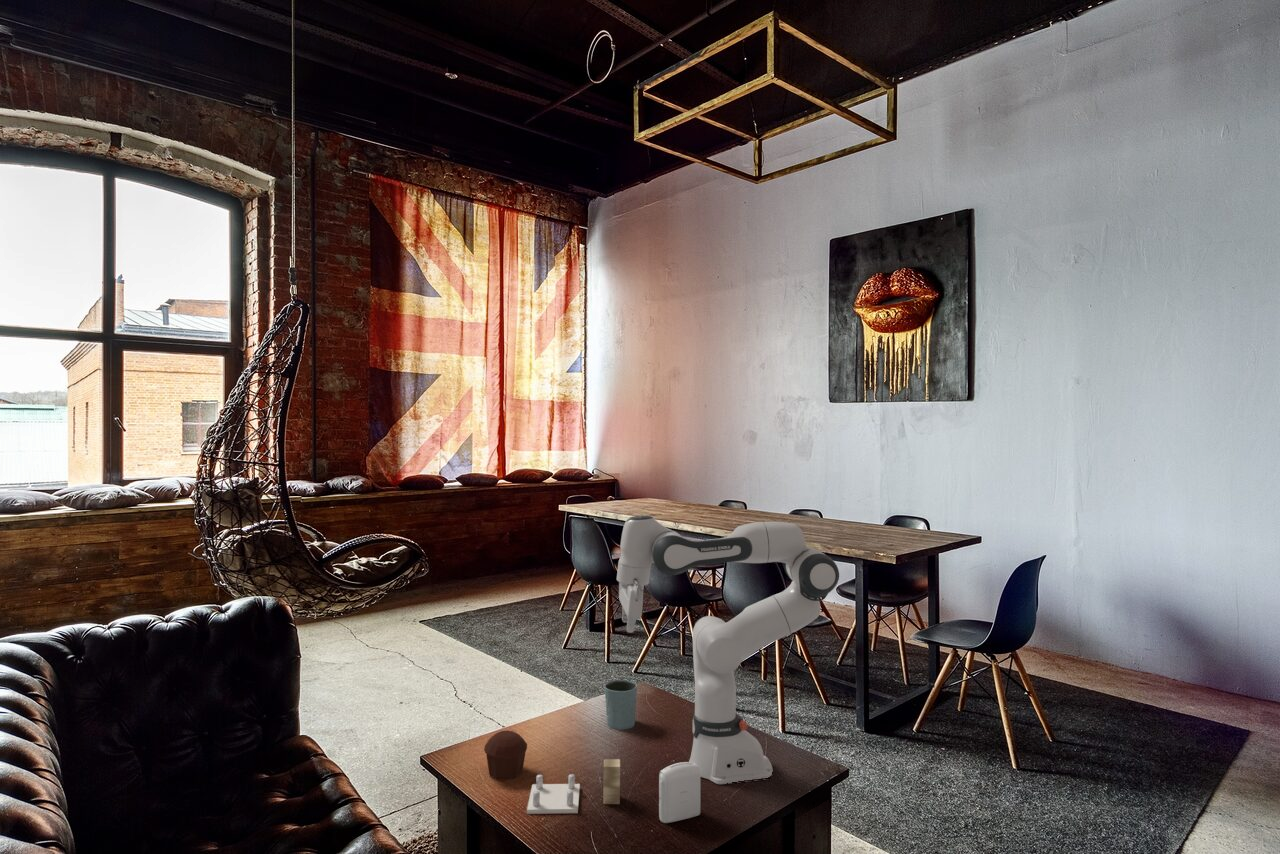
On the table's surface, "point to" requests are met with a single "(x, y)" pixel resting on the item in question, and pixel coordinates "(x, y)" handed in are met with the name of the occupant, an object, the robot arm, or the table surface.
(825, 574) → the robot arm
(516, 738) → the muffin
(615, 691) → the teal cup
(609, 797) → the block
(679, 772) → the photo printer
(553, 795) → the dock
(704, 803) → the table surface
